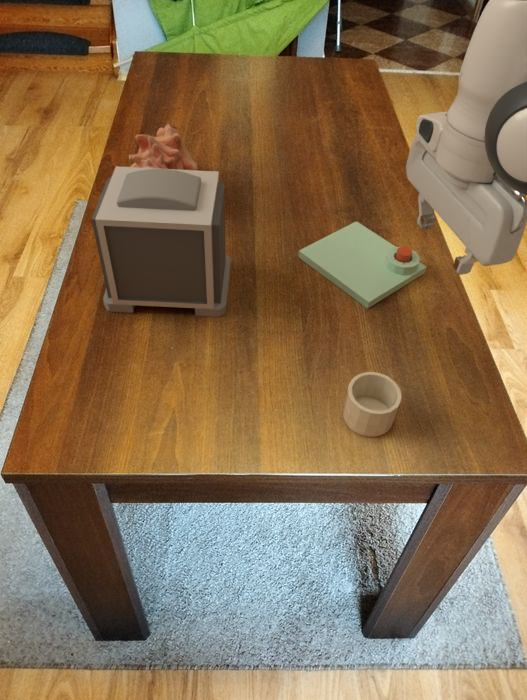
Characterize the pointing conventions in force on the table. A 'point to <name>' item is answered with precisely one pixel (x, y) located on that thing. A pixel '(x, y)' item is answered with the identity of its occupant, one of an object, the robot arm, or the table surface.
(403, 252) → the button
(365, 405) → the beige cup
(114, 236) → the alarm clock
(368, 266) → the scale
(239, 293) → the table surface
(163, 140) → the seashell
